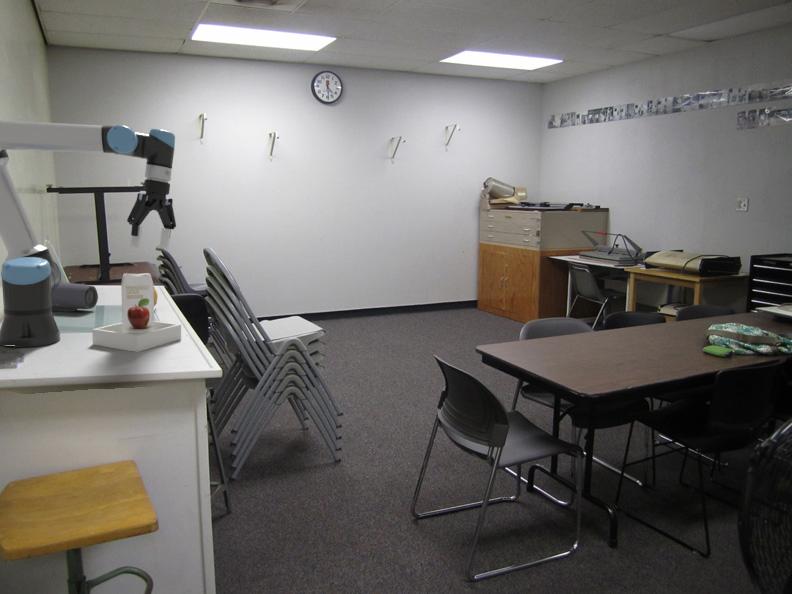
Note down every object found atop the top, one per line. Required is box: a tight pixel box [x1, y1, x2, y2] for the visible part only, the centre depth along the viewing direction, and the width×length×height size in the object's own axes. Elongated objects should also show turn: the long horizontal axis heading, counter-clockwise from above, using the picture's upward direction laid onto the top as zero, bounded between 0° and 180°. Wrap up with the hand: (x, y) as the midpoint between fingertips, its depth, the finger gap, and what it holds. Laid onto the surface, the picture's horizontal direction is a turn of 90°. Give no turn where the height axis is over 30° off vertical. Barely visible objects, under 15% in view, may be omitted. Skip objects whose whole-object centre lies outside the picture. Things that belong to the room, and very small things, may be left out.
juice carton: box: [120, 272, 155, 335], centre depth 176 cm, size 8×9×19 cm
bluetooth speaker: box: [51, 281, 99, 312], centre depth 215 cm, size 23×9×10 cm, turn 84°
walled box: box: [91, 320, 182, 353], centre depth 177 cm, size 18×16×4 cm
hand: (150, 247), depth 190 cm, fingers open, 13 cm apart
